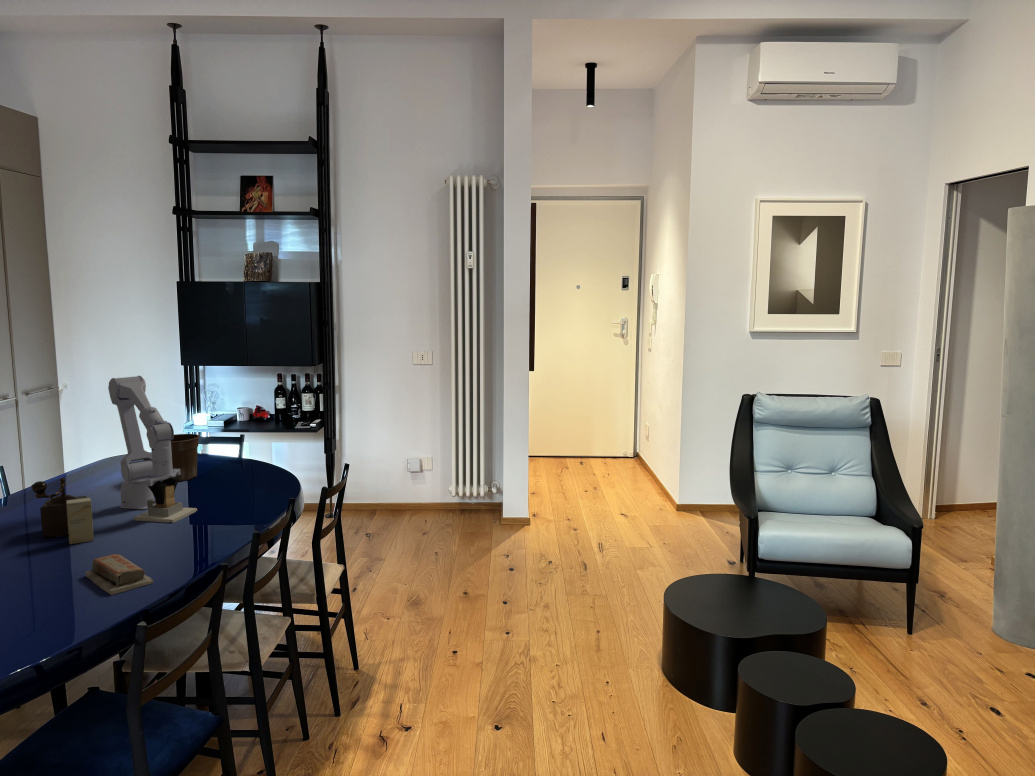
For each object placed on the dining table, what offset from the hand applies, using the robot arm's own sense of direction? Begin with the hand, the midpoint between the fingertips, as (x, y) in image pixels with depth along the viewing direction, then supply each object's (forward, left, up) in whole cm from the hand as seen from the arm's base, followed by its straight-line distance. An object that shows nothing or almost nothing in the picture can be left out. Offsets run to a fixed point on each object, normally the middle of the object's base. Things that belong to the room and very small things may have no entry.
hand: (165, 501), depth 229 cm
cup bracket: (0, 0, -5) cm, 5 cm away
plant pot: (-26, +43, -5) cm, 50 cm away
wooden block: (0, 0, -2) cm, 2 cm away
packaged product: (+22, -48, -5) cm, 53 cm away
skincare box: (-9, -25, -5) cm, 27 cm away
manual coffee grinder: (-19, -21, -5) cm, 29 cm away
